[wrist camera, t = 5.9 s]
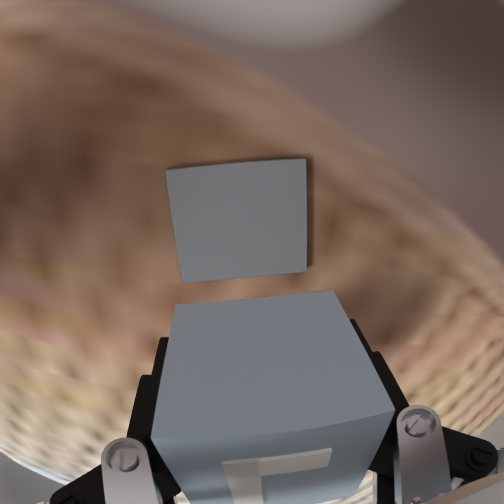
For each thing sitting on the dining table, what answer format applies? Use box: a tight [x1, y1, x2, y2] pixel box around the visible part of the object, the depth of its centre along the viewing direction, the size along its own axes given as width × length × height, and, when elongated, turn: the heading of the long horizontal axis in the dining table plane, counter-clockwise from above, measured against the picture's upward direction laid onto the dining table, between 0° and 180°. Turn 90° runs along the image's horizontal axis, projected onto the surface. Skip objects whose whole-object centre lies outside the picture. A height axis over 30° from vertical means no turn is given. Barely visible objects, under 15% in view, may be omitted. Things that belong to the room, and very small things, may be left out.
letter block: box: [151, 290, 395, 504], centre depth 9 cm, size 5×5×5 cm
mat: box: [165, 158, 307, 283], centre depth 24 cm, size 10×9×1 cm
